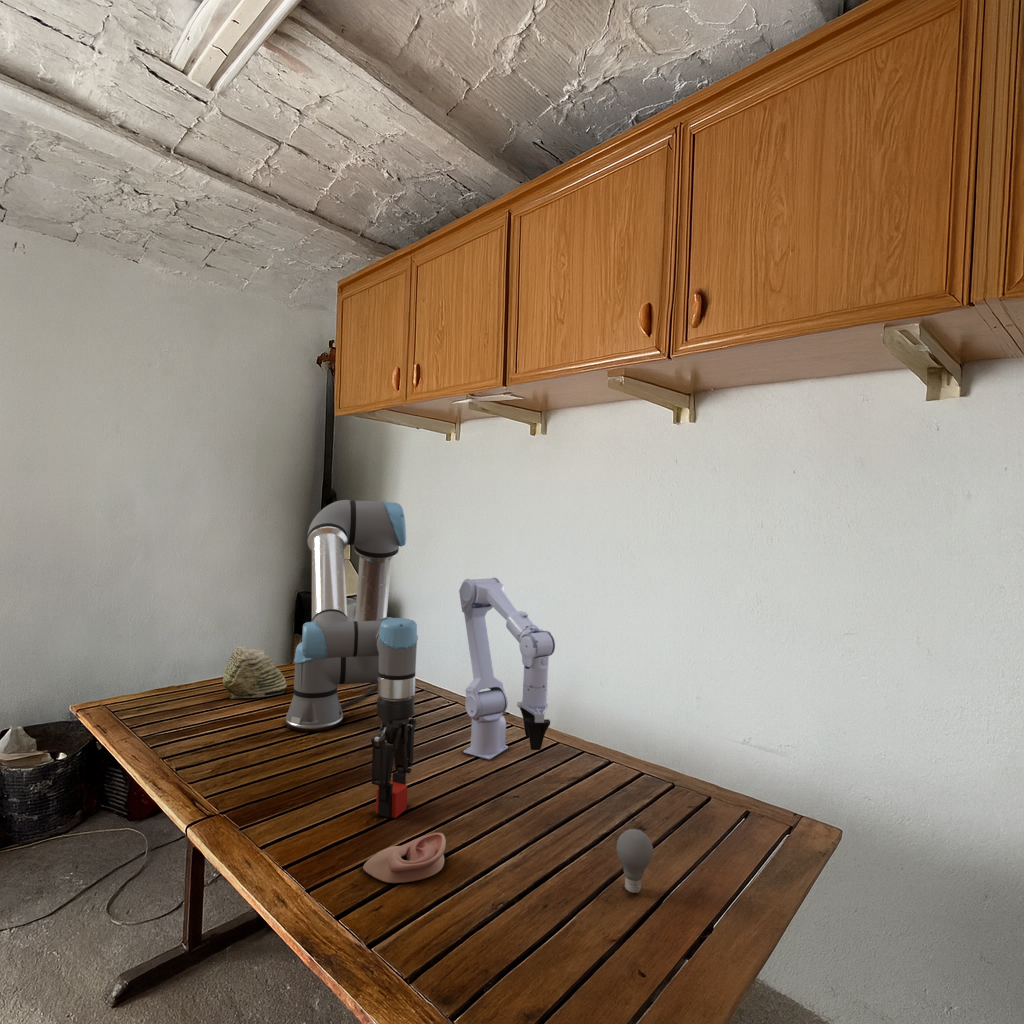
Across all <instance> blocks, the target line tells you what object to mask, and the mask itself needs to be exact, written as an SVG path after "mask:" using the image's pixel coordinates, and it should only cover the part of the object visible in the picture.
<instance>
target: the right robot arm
mask: <svg viewBox="0 0 1024 1024" xmlns="http://www.w3.org/2000/svg"><path fill="white" fill-rule="evenodd" d="M462 581H463V582H462V583H461V585H460V588H459V590H458V593H459V599H460V607H461V612H462V613H463V614H464V621H465V629H466V636H467V643H468V649H469V657H470V663H471V669H472V670H471V671H472V677H473V680H472V681H471V682H470V683H469V684H468V685H467V687H466V688H465V702H464V708H465V712H466V713H467V715H468V717H469V718H471V725H470V728H471V729H470V746H469V747H467V748H466V749H464V750H463V753H464V754H467V755H471V756H475V757H478V758H481V759H484V760H492V759H493V758H495V757H497V756H498V755H500V754H501V753H503V752H504V751H506V750H507V749H509V746H508V745H506V736H507V722H506V718H505V716H504V715H503V714H504V713H505V712H506V711H507V709H508V705H509V700H508V696H507V693H506V691H505V688H504V684H503V682H502V681H501V680H499V679H498V678H496V677H495V675H494V668H493V661H492V654H491V649H490V648H491V647H490V641H489V636H488V628H487V622H486V616H487V613H488V612H489V611H491V610H492V609H494V610H495V611H496V612H497V613H498V614H499V615H500V616H501V617H502V618H503V619H504V620H505V621H506V622H505V627H506V630H508V632H509V633H510V634H511V635H512V637H513V638H514V639H515V640H516V641H517V642H518V645H519V647H518V648H519V651H520V654H521V663H522V665H523V676H522V677H523V678H522V679H523V680H522V700H521V701H517V703H516V706H517V708H519V709H520V712H521V716H522V721H523V728H524V733H525V738H528V739H529V746H530V750H531V751H541V749H542V746H543V741H544V738H545V735H546V732H547V731H548V728H549V727H550V726H551V720H550V719H547V718H545V713H546V712H547V710H548V708H549V703H548V691H549V690H548V689H549V669H550V667H549V665H550V656H552V655H553V654H554V653H555V649H556V641H555V638H554V636H553V635H552V633H551V632H550V631H549V630H543V628H541V629H540V628H539V626H538V625H537V624H536V623H535V622H534V620H532V619H531V618H530V617H529V614H528V613H527V612H526V611H523V610H517V608H516V607H515V606H514V604H513V603H512V602H511V600H510V599H509V598H508V596H507V595H506V594H505V587H504V584H503V583H502V582H501V581H500V579H499V578H497V577H490V578H466V579H464V580H462ZM486 689H488V690H486ZM482 690H483V691H482Z"/></svg>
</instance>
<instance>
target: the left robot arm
mask: <svg viewBox="0 0 1024 1024" xmlns="http://www.w3.org/2000/svg"><path fill="white" fill-rule="evenodd" d="M406 544H407V528H406V518H405V513H404V509H403V507H402V505H401V504H400V503H398V502H393V501H392V502H391V501H386V500H383V501H382V500H380V501H379V500H377V501H376V500H351V499H340V500H337V501H336V500H335V501H334V502H332V503H330V504H328V505H326V506H324V507H323V508H322V509H321V510H320V511H319V512H317V514H316V515H315V516H314V518H313V519H312V521H311V523H310V525H309V527H308V532H307V546H308V549H309V550H310V551H311V621H306V622H305V623H303V624H302V637H301V642H299V643H298V644H297V645H296V648H295V655H294V660H293V663H294V680H293V695H292V696H293V697H292V699H291V702H290V704H289V708H288V711H287V713H286V715H285V726H286V728H287V729H289V730H291V731H294V732H295V731H296V732H301V733H316V732H325V731H329V730H332V729H335V728H337V727H339V726H340V725H342V723H343V722H344V713H343V709H342V708H344V707H346V706H349V705H351V704H353V703H356V702H359V701H360V700H362V699H364V698H366V697H367V696H369V695H370V694H372V693H373V692H374V691H375V690H376V689H377V695H378V697H377V698H376V716H377V717H378V719H380V721H381V723H380V727H379V732H378V734H377V735H372V736H371V739H370V743H371V746H372V753H371V754H372V758H371V784H372V785H374V786H378V788H379V792H378V814H377V816H381V817H385V818H388V819H389V818H392V817H391V815H392V791H393V784H391V783H390V781H392V782H396V783H400V784H404V785H407V784H406V783H407V782H406V781H407V774H409V775H410V774H411V772H412V768H411V767H412V766H413V764H414V746H415V745H414V744H415V729H416V725H417V718H413V715H414V714H415V700H416V699H415V697H414V696H415V695H416V670H417V669H416V668H417V647H418V640H419V635H418V624H417V622H416V621H415V620H413V619H410V618H405V617H391V616H389V617H388V616H387V615H388V607H389V606H388V605H389V595H390V585H391V575H392V563H393V558H394V557H396V556H397V555H398V554H399V549H400V547H401V548H402V547H404V546H406ZM347 546H354V548H353V549H354V552H355V553H356V554H357V555H358V556H359V561H358V572H357V573H358V575H357V589H356V600H355V616H354V620H348V602H347V601H348V600H347V583H346V563H345V549H346V548H347ZM356 684H372V685H373V684H375V685H374V686H373V687H372V688H371V689H370V690H368V691H367V692H366V693H363V694H362V695H361V696H359V697H356V698H354V699H352V700H350V701H347V702H344V703H342V704H341V702H340V699H339V695H338V686H339V685H356ZM393 767H394V770H395V771H393ZM409 767H410V768H409ZM391 779H392V780H391Z"/></svg>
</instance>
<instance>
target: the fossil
mask: <svg viewBox="0 0 1024 1024" xmlns="http://www.w3.org/2000/svg"><path fill="white" fill-rule="evenodd" d="M222 676H223V677H222V685H223V687H224V688H225V690H226V691H228V693H229V698H230V699H250V698H264V697H271V696H275V695H281V694H284V693H285V691H286V689H287V687H288V686H287V680H286V678H285V676H284V674H283V673H282V672H281V669H279V668H278V667H277V665H276V663H275V662H274V660H273V659H272V658H271V657H270V656H269V655H268V654H267V653H266V652H265V650H264V649H263V648H260V647H258V648H251V647H247V646H246V647H245V646H238V647H237V648H236V649H235V650H233V651H232V653H231V656H230V657H229V659H228V660H227V663H226V666H225V668H224V671H223V675H222Z"/></svg>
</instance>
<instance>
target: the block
mask: <svg viewBox="0 0 1024 1024" xmlns="http://www.w3.org/2000/svg"><path fill="white" fill-rule="evenodd" d="M390 783H391V784H393V791H392V815H391V817H390V818H393V819H397V818H398V817H399V816H400V815H401V814H402V813H404V812H405V811H406V810H407V805H408V785H407V784H405V785H404V784H400V783H396V782H392V780H391V781H390ZM378 792H379V787H377V788H376V799H375V800H376V801H375V814H377V815H378Z"/></svg>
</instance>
